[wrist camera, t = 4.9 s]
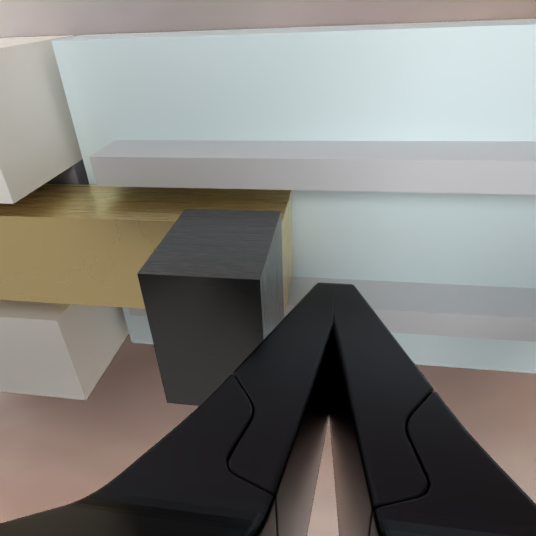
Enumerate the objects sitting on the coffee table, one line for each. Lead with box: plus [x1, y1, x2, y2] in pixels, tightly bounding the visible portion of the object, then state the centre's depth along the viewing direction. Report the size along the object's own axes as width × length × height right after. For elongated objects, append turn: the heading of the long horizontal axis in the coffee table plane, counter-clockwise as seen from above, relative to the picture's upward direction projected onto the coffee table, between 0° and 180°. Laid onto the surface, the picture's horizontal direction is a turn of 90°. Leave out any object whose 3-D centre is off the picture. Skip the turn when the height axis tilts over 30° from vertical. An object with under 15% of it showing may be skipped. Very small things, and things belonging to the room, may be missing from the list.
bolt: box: [0, 183, 293, 406], centre depth 10 cm, size 10×3×4 cm, turn 93°
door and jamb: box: [0, 19, 536, 400], centre depth 11 cm, size 22×9×4 cm, turn 93°
